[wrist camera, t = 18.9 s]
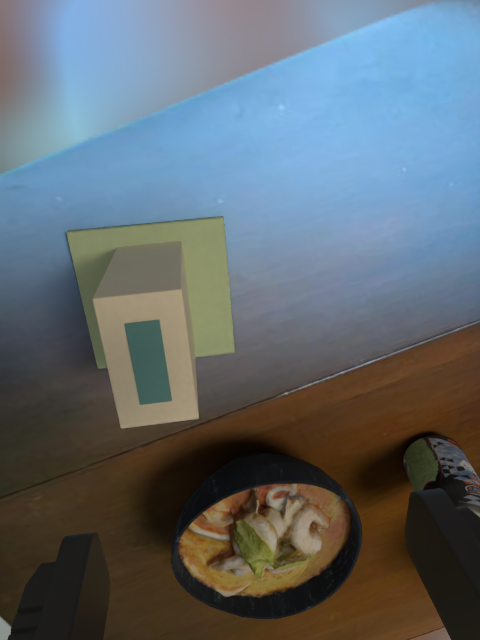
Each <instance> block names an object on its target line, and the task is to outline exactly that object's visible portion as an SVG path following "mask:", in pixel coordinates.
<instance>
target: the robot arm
mask: <svg viewBox="0 0 480 640" xmlns="http://www.w3.org/2000/svg"><path fill="white" fill-rule="evenodd" d="M405 540H406V545H407V549H408V552H409V555H410V557H411V559H412V561H413V563H414V565H415V567H416V569H417V571H418V573H419V575H420V577H421V579H422V582H423V584H424V586H425V588H426V590H427V592H428V594H429V596H430V598H431V600H432V602H433V604H434V606H435V608H436V610H437V612H438V614H439V616H440V618H441V620H442V622H443V624H444V626H445V628H446V630H447V632H448V634H449V636H450V638H451V640H480V517H479V516H478V515H477V514H475V513H474V512H473V511H472V510H470V509H469V508H468V507H465V508H458V509H457V507H456V506H455V504H454V503H453V501H452V500H451V498H450V497H449V495H448V494H447V493H446V492H445V491H444V490H443V489H441V488H436V489H429V490H421V491H414V492H412V493H411V494H410V498H409V506H408V513H407V520H406V527H405ZM109 595H110V578H109V571H108V567H107V564H106V560H105V557H104V553H103V550H102V546H101V543H100V539H99V536H98V534H97V533H96V532H94V533H86V534H78V535H71V536H65V537H64V538H63V540H62V543H61V546H60V549H59V553H58V556H57V560H56V562H50V563H42V564H41V565H40V566H39V568H38V569H37V571H36V572H35V573H34V575H33V576H32V577H31V579H30V580H29V582H28V583H27V584H26V586H25V589H24V592H23V595H22V598H21V601H20V604H19V607H18V613H17V614H16V616H15V619H14V622H13V625H12V628H11V634H10V635H9V637H8V640H103V635H104V629H105V622H106V616H107V610H108V603H109Z"/></svg>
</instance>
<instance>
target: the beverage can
mask: <svg viewBox="0 0 480 640" xmlns="http://www.w3.org/2000/svg"><path fill="white" fill-rule="evenodd" d="M403 465H404V468H405V470H406V473H407V475H408V478H409V480H410V483H411V485H412V488H413V490H414V491H421V490H429V489H436V488H441V489H443V490H444V491H445V492H446V493H447V494H448V495H449V497H450V498H451V500H452V501H453V503H454V504H455V506H456V507H457V509H458V508H465V507H468V508H469V509H470V510H472V511H473V512H474V513H475V514H477V515H478V516H479V517H480V479H479V478H478V476H477V474H476V473H475V471H474V469H473V468H472V466H471V464H470V463H469V461H468V459H467V458H466V456H465V454H464V452H463V451H462V449H461V447H460V446H459V445H458V443H457V442H455V441H454V440H453V439H451V438H449V437H446V436H440V435H433V436H427V437H423V438H421V439H419V440H417V441H415V442H414V443H412V444H411V445H410V446H409V447H408V449H407V450H406V452H405V454H404V457H403Z"/></svg>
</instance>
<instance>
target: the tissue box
mask: <svg viewBox="0 0 480 640" xmlns="http://www.w3.org/2000/svg"><path fill="white" fill-rule="evenodd" d="M92 300H93V305H94V309H95V314H96V318H97V323H98V327H99V332H100V336H101V341H102V345H103V350H104V354H105V359H106V363H107V368H108V372H109V377H110V381H111V386H112V390H113V395H114V400H115V404H116V409H117V413H118V418H119V422H120V427H121V428H130V427H138V426H146V425H153V424H161V423H169V422H177V421H184V420H192V419H198V418H199V414H198V397H197V380H196V363H195V347H194V336H193V328H192V320H191V312H190V304H189V296H188V288H187V280H186V272H185V264H184V256H183V248H182V242H181V241H175V242H165V243H154V244H144V245H134V246H124V247H117V249H116V251H115V253H114V255H113V257H112V259H111V261H110V264H109V266H108V268H107V270H106V272H105V274H104V276H103V278H102V280H101V282H100V284H99V286H98V288H97V291H96V293H95V295H94V297H93V299H92Z"/></svg>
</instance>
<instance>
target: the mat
mask: <svg viewBox="0 0 480 640" xmlns="http://www.w3.org/2000/svg"><path fill="white" fill-rule="evenodd" d="M66 234H67V238H68V243H69V247H70V251H71V256H72V260H73V264H74V269H75V273H76V277H77V281H78V286H79V290H80V294H81V299H82V303H83V307H84V312H85V316H86V320H87V324H88V329H89V333H90V337H91V342H92V346H93V350H94V355H95V359H96V363H97V368H98V369H101V368H107V363H106V359H105V354H104V350H103V345H102V341H101V336H100V332H99V327H98V323H97V318H96V314H95V309H94V305H93V300H92V299H93V297H94V295H95V293H96V291H97V288H98V286H99V284H100V282H101V280H102V278H103V276H104V274H105V272H106V270H107V268H108V266H109V264H110V261H111V259H112V257H113V255H114V253H115V251H116V249H117V247H124V246H134V245H144V244H154V243H165V242H175V241H181V242H182V248H183V256H184V264H185V272H186V280H187V288H188V296H189V304H190V312H191V320H192V328H193V336H194V347H195V357H202V356H211V355H219V354H228V353H235V347H234V335H233V323H232V311H231V300H230V288H229V276H228V264H227V252H226V240H225V228H224V218H223V216H221V217H210V218H199V219H189V220H178V221H168V222H157V223H146V224H136V225H125V226H115V227H104V228H93V229H83V230H72V231H68V232H67V233H66Z"/></svg>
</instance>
